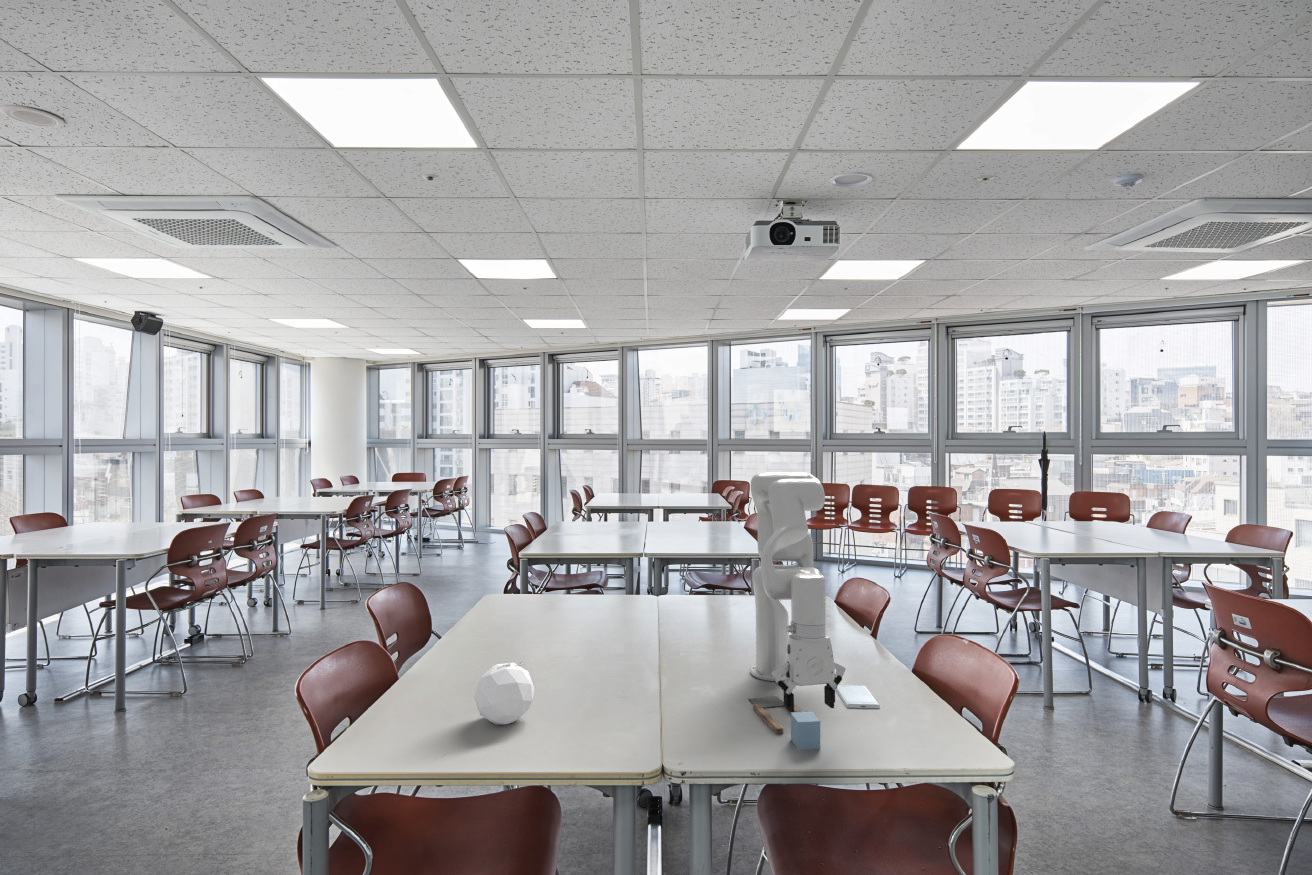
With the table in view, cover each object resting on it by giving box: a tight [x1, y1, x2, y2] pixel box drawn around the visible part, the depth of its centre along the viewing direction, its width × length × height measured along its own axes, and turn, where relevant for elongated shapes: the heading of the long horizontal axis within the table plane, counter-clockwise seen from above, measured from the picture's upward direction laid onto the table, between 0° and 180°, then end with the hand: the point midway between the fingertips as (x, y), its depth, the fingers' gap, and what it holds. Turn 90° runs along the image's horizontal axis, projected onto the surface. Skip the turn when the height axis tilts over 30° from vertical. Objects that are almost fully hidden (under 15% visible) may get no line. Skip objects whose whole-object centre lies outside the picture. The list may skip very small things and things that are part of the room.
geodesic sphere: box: [473, 661, 535, 725], centre depth 149 cm, size 15×14×14 cm
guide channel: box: [747, 695, 803, 735], centre depth 152 cm, size 20×10×1 cm, turn 13°
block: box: [790, 711, 821, 751], centre depth 136 cm, size 5×5×6 cm
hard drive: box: [835, 684, 881, 709], centre depth 162 cm, size 2×8×12 cm
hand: (809, 707), depth 136 cm, fingers open, 9 cm apart
